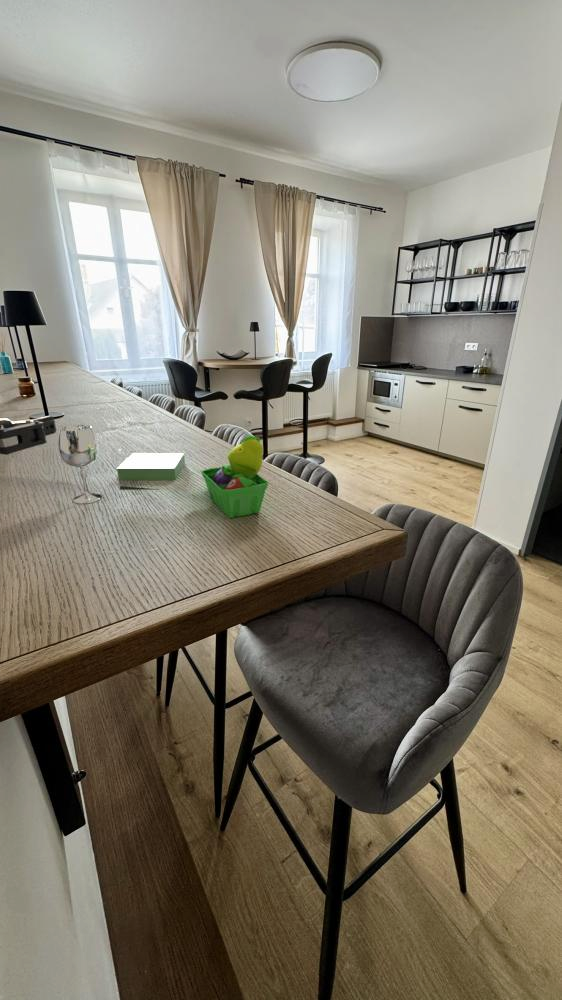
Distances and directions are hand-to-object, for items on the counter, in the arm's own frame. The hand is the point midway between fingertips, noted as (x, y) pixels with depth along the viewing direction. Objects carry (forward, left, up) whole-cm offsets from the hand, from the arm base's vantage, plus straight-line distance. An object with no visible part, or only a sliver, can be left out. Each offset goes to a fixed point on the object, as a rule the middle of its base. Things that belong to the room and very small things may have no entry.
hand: (24, 422), depth 54 cm
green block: (+6, +21, -15) cm, 26 cm away
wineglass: (0, +10, -15) cm, 18 cm away
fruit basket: (+25, +13, -15) cm, 32 cm away
